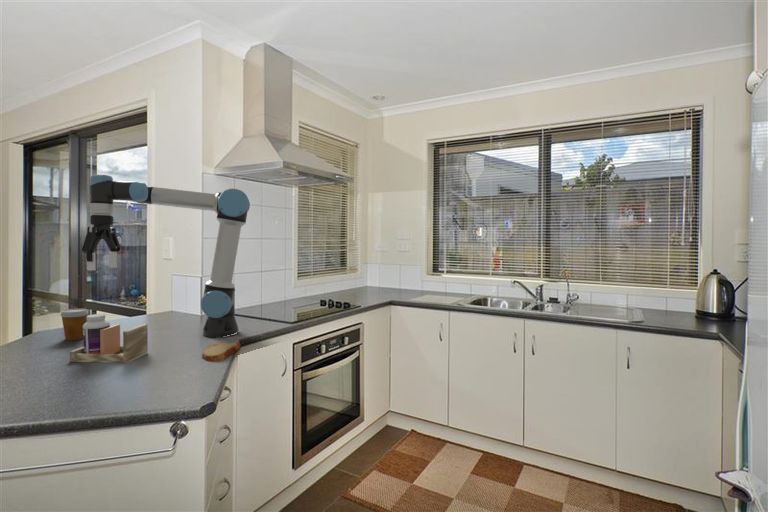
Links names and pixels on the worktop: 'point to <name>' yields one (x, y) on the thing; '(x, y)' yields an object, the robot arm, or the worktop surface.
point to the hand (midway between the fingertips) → (102, 268)
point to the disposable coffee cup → (74, 323)
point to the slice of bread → (219, 351)
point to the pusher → (110, 339)
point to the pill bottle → (93, 333)
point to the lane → (131, 349)
